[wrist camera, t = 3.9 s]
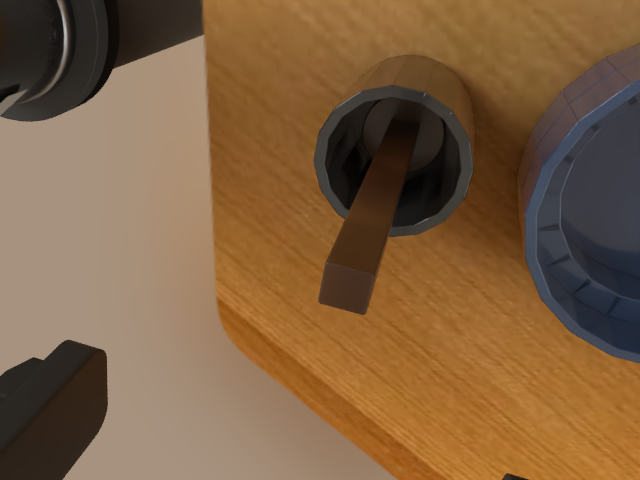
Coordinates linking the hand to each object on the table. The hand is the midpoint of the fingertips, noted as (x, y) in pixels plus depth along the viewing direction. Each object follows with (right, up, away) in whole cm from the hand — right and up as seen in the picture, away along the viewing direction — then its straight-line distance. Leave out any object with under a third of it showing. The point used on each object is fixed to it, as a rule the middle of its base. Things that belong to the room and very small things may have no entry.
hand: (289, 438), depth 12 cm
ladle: (+5, +10, +19) cm, 22 cm away
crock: (+5, +10, +19) cm, 23 cm away
